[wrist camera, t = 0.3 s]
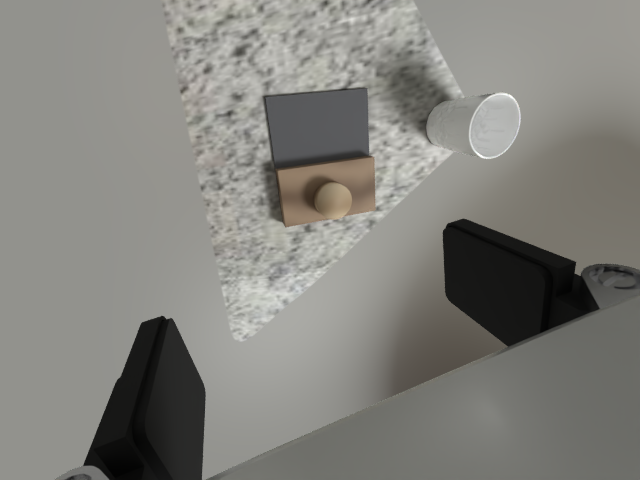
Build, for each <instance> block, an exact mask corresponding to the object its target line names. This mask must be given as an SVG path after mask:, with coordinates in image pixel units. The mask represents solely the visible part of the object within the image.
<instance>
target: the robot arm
mask: <svg viewBox="0 0 640 480" xmlns="http://www.w3.org/2000/svg"><path fill="white" fill-rule="evenodd" d="M443 249H444V272H445V293H446V296H447V298H448V300H449V301H450V302H451V303H452V304H454V305H455V306H456V307H458V308H459V309H460V310H461V311H463V312H464V313H465V314H467V315H468V316H469V317H471V318H472V319H473V320H475V321H476V322H477V323H478V324H480V325H481V326H482V327H484V328H485V329H486V330H487V331H489V332H490V333H491V334H493V335H494V336H495V337H497V338H498V339H499V340H501V341H502V342H503V343H504V344H506V345H507V346H508V347H507V348H505V349H502V350H500V351H498V352H495V353H493V354H490V355H488V356H486V357H483V358H481V359H479V360H476V361H474V362H472V363H469V364H467V365H465V366H462V367H460V368H458V369H455V370H453V371H451V372H448V373H446V374H444V375H442V376H439V377H437V378H434V379H432V380H430V381H427V382H425V383H423V384H420V385H418V386H416V387H414V388H411V389H409V390H407V391H404V392H402V393H400V394H397V395H395V396H393V397H390V398H388V399H386V400H384V401H381V402H379V403H377V404H374V405H372V406H370V407H368V408H365V409H363V410H361V411H358V412H356V413H354V414H351V415H349V416H347V417H345V418H342V419H340V420H338V421H336V422H333V423H331V424H329V425H327V426H324V427H322V428H320V429H317V430H315V431H313V432H311V433H308V434H306V435H304V436H301V437H299V438H297V439H294V440H292V441H290V442H288V443H285V444H283V445H281V446H279V447H276V448H274V449H272V450H270V451H267V452H265V453H263V454H261V455H258V456H256V457H254V458H252V459H250V460H248V461H245V462H243V463H241V464H239V465H236V466H234V467H232V468H230V469H228V470H226V471H223V472H221V473H219V474H217V475H215V476H213V477H211V478H209V479H206V480H640V270H639V269H635V268H632V267H629V266H624V265H618V264H595V265H590V266H588V267H586V268H584V269H583V271H582V272H581V276H579V275H577V274H574V272H575V266H576V262H575V261H572V260H570V259H567V258H564V257H562V256H559V255H557V254H554V253H552V252H549V251H546V250H544V249H541V248H538V247H536V246H534V245H531V244H528V243H526V242H523V241H520V240H518V239H515V238H513V237H510V236H507V235H505V234H503V233H500V232H497V231H495V230H492V229H489V228H487V227H485V226H482V225H479V224H477V223H474V222H472V221H469V220H467V219H461V220H458V221H454V222H451V223H448V224H447V226H446V229H444V230H443ZM204 418H205V388H204V384H203V382H202V380H201V377H200V375H199V373H198V371H197V369H196V367H195V365H194V363H193V360H192V358H191V356H190V354H189V352H188V350H187V348H186V346H185V344H184V341H183V339H182V337H181V335H180V333H179V331H178V329H177V326H176V324H175V322H174V321H173V319H172V318H170V319H167V320H166V318H165V317H164V316H161V317H157V318H154V319H151V320H148V321H145V322H142V323H141V325H140V328H139V330H138V333H137V336H136V338H135V341H134V344H133V346H132V349H131V351H130V354H129V357H128V359H127V362H126V364H125V367H124V370H123V372H122V375H121V377H120V378H119V379H118V380H117V382H116V383H115V386H114V388H113V391H112V394H111V396H110V399H109V401H108V404H107V406H106V409H105V411H104V414H103V416H102V419H101V422H100V424H99V427H98V429H97V432H96V435H95V437H94V439H93V442H92V445H91V447H90V450H89V452H88V455H87V457H86V460H85V462H84V465H83V466H81V467H79V468H75V469H72V470H70V471H68V472H67V473H65V474H63V475H61V476H60V477H58V478H56V479H55V480H202V463H203V439H204Z"/></svg>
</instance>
